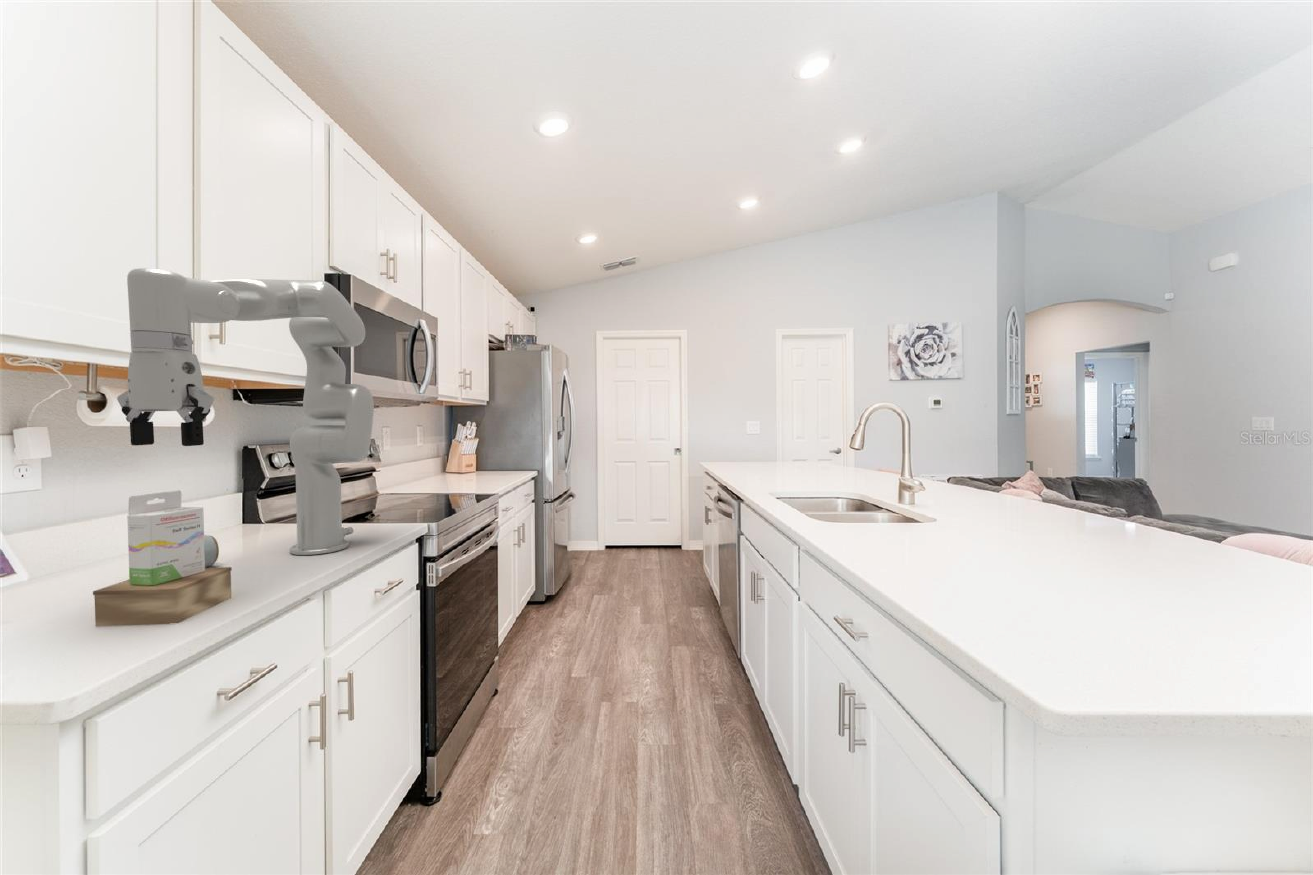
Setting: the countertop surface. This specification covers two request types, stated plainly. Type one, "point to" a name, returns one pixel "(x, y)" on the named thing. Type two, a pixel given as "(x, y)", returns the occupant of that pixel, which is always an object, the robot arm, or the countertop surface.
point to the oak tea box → (162, 599)
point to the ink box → (164, 539)
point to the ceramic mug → (210, 550)
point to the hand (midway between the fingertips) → (167, 445)
